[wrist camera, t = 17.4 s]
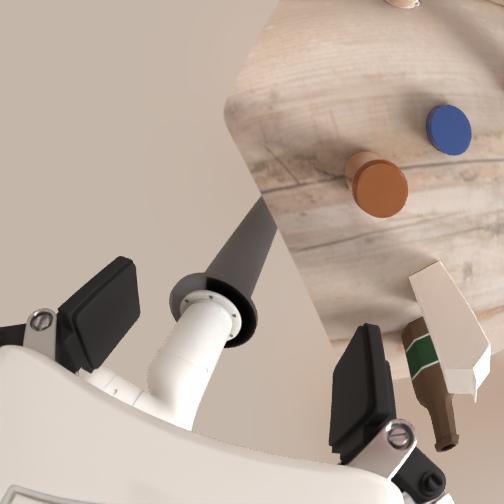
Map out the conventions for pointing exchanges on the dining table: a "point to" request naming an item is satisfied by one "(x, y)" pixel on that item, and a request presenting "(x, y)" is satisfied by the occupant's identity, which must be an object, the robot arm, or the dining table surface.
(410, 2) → the garlic bulb
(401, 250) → the dining table surface
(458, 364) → the milk
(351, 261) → the dining table surface
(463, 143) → the jar lid
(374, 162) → the jar
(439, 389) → the beer bottle
